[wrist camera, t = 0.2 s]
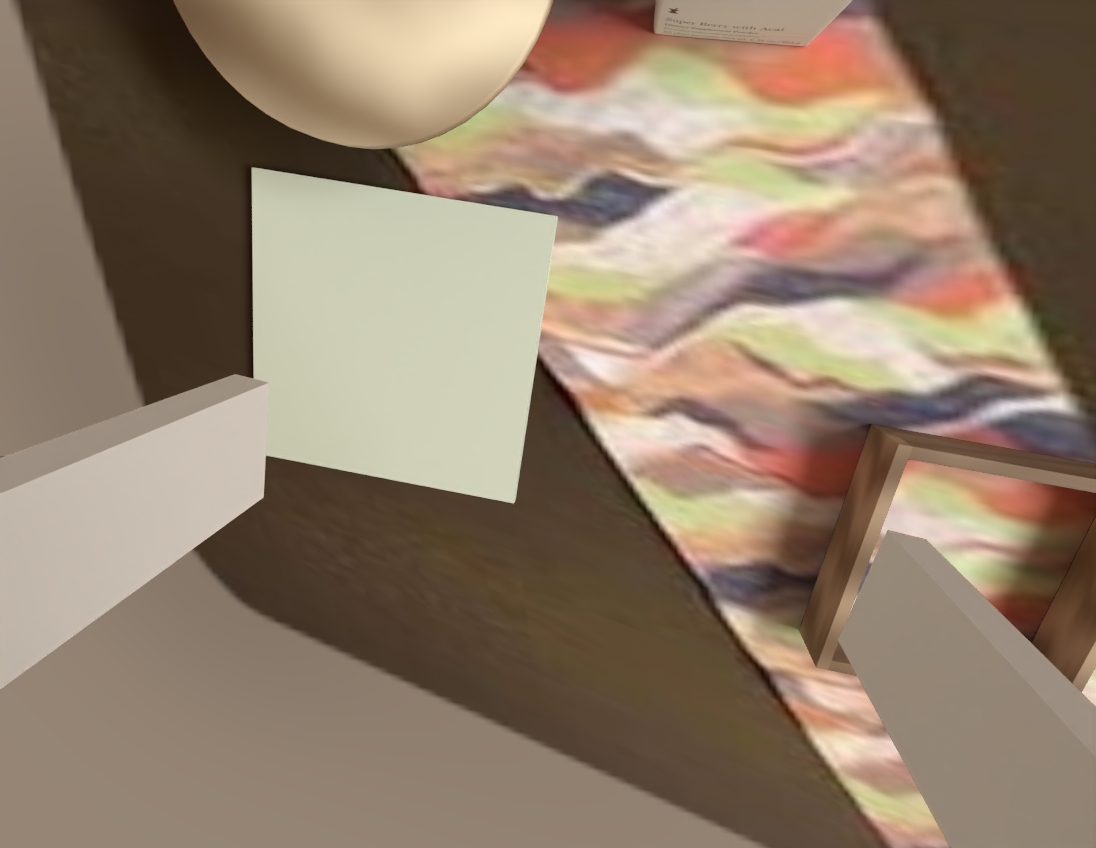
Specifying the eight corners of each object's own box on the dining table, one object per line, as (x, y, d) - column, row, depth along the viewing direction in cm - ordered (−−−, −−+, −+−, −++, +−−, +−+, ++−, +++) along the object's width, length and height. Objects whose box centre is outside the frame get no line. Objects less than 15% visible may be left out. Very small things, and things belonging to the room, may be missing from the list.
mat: (259, 168, 38) (251, 167, 37) (558, 216, 37) (556, 216, 36) (260, 449, 44) (254, 453, 44) (515, 498, 43) (513, 503, 42)
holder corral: (871, 424, 38) (899, 444, 35) (1133, 470, 37) (1191, 496, 33) (799, 630, 44) (816, 667, 40) (1026, 676, 42) (1066, 718, 39)
